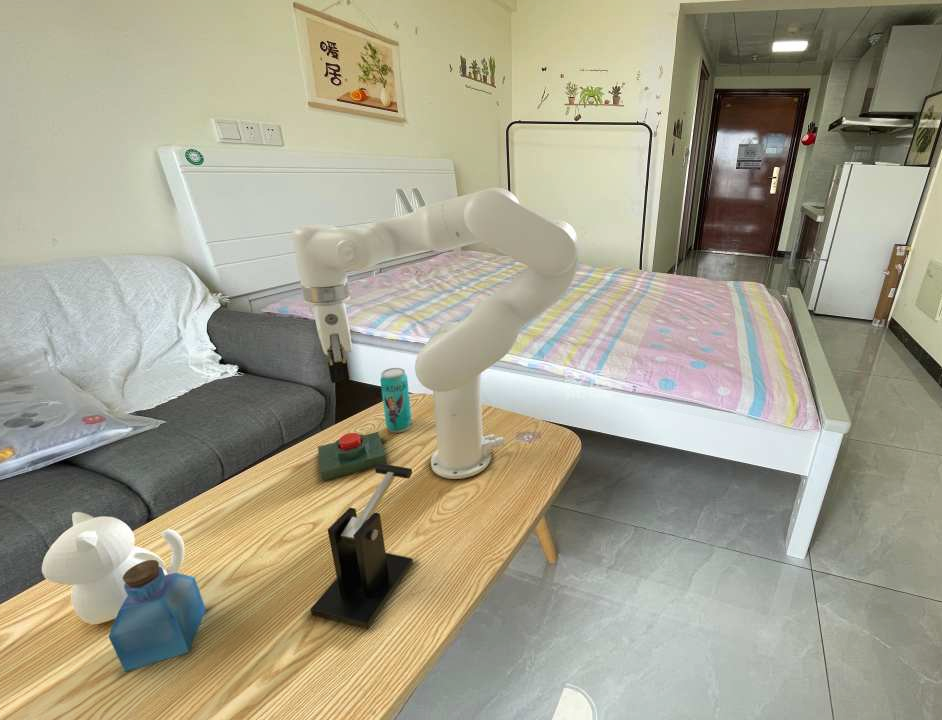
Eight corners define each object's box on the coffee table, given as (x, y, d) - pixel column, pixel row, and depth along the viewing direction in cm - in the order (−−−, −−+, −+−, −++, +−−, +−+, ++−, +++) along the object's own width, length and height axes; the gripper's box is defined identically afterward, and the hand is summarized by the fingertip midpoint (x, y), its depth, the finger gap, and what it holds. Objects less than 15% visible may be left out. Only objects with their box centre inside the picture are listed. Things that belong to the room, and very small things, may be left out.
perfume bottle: (124, 671, 53) (91, 600, 49) (148, 625, 59) (120, 558, 55) (188, 652, 56) (162, 583, 52) (205, 609, 61) (183, 544, 57)
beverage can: (384, 435, 103) (377, 378, 98) (389, 422, 108) (382, 367, 103) (410, 433, 104) (404, 376, 99) (413, 420, 109) (408, 366, 104)
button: (359, 437, 95) (358, 430, 95) (362, 447, 92) (361, 440, 92) (339, 442, 93) (337, 435, 93) (340, 452, 90) (339, 445, 90)
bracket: (363, 553, 71) (353, 489, 67) (413, 563, 70) (405, 500, 66) (311, 615, 61) (295, 545, 57) (368, 629, 60) (356, 559, 55)
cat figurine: (68, 608, 61) (26, 523, 55) (186, 553, 70) (159, 476, 65) (72, 652, 55) (27, 563, 50) (199, 586, 64) (172, 505, 59)
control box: (379, 439, 101) (377, 424, 100) (386, 463, 93) (384, 447, 92) (319, 455, 95) (316, 439, 93) (322, 481, 87) (319, 465, 86)
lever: (383, 468, 71) (378, 459, 70) (413, 473, 70) (409, 465, 69) (336, 541, 62) (329, 533, 61) (370, 548, 61) (364, 540, 60)
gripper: (353, 300, 78) (366, 391, 84) (344, 282, 89) (356, 363, 95) (304, 305, 74) (321, 400, 80) (301, 285, 85) (316, 369, 91)
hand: (340, 380), depth 88 cm, fingers closed
